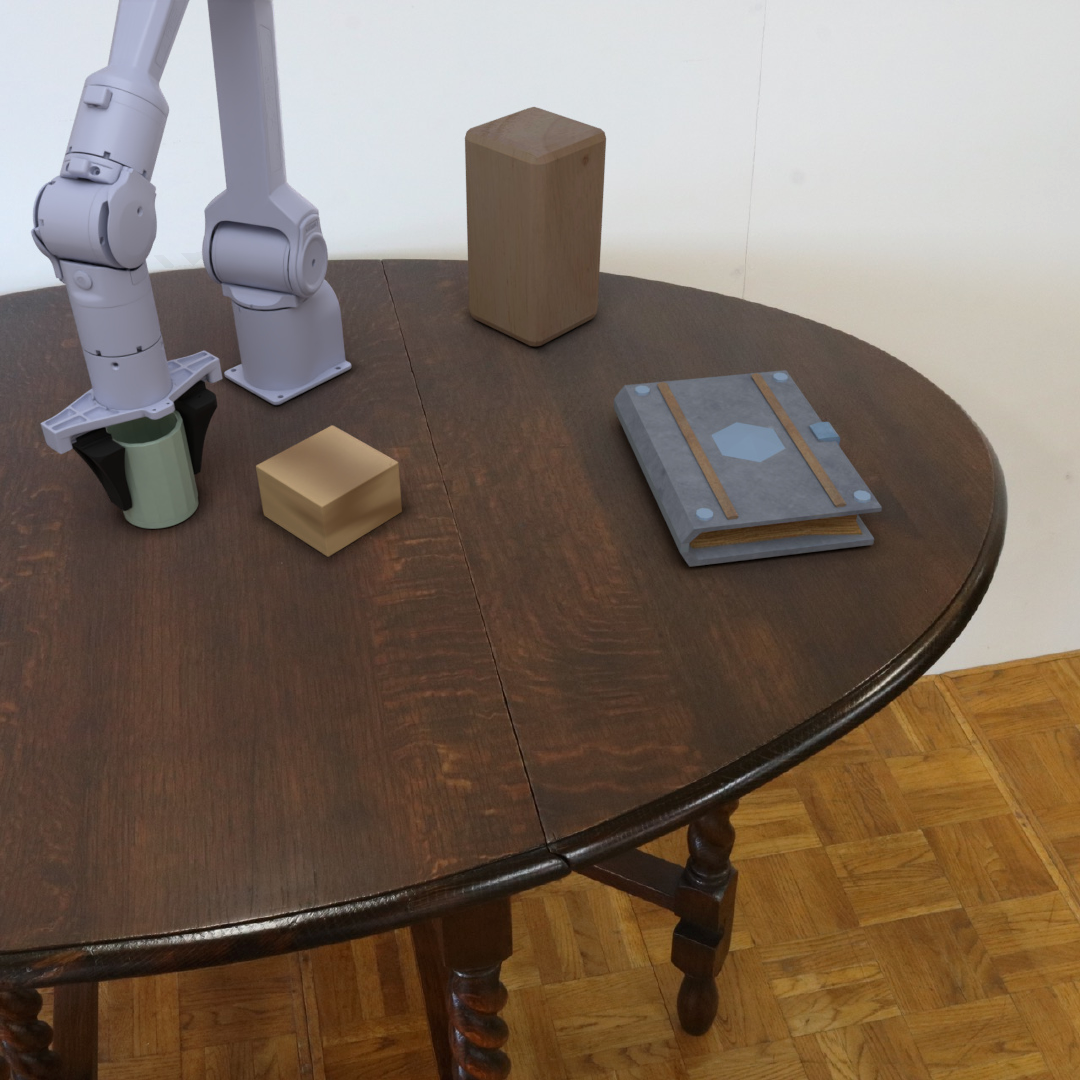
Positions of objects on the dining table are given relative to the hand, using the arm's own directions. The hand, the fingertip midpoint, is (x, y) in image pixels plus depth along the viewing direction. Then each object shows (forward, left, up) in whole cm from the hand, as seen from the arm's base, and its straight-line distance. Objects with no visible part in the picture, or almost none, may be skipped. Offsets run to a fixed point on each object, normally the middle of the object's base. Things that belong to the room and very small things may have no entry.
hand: (156, 486), depth 96 cm
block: (-9, +11, -2) cm, 14 cm away
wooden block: (-45, +1, -2) cm, 45 cm away
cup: (0, 0, -2) cm, 2 cm away
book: (-35, +33, -2) cm, 48 cm away
